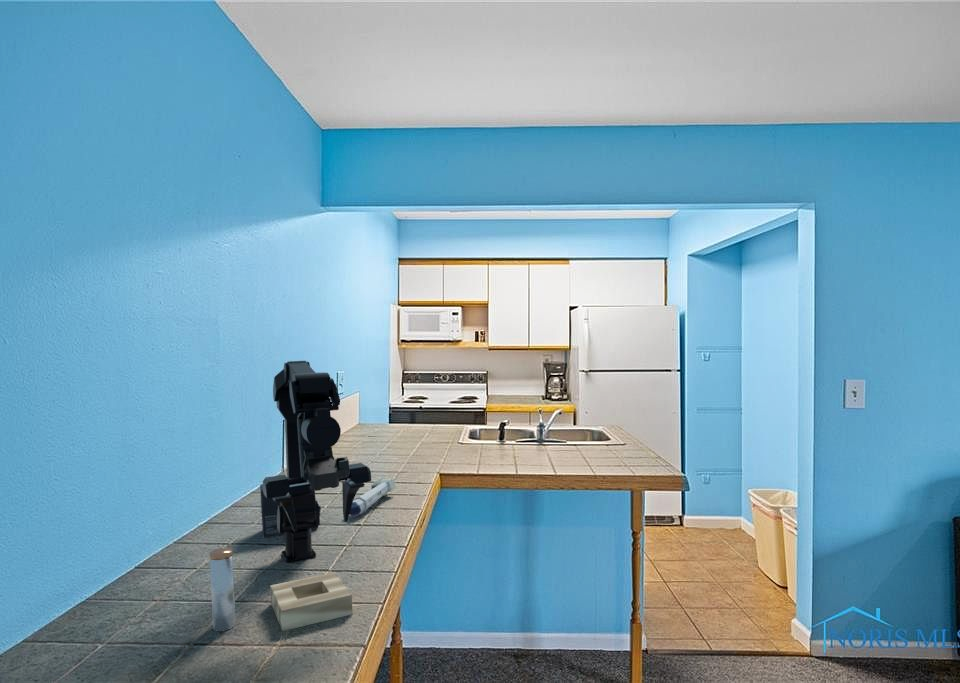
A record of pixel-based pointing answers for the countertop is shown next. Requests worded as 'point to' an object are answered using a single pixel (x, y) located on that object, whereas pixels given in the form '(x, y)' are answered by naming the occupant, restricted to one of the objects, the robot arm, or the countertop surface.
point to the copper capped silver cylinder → (222, 589)
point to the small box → (271, 515)
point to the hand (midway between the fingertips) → (321, 526)
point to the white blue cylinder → (372, 495)
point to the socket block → (310, 600)
